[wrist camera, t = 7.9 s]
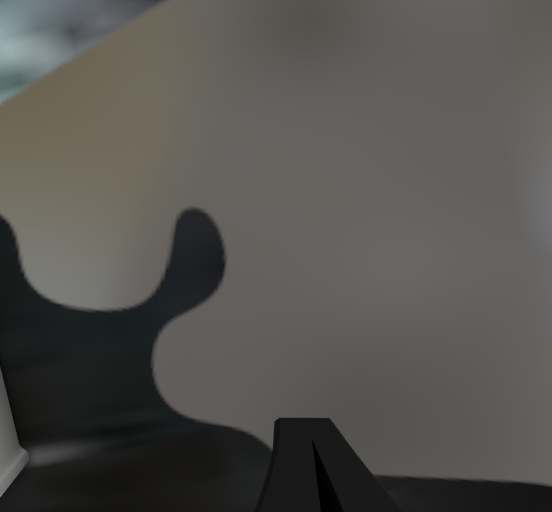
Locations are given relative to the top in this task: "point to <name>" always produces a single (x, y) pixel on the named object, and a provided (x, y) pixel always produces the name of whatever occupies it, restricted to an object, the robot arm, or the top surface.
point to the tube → (9, 444)
